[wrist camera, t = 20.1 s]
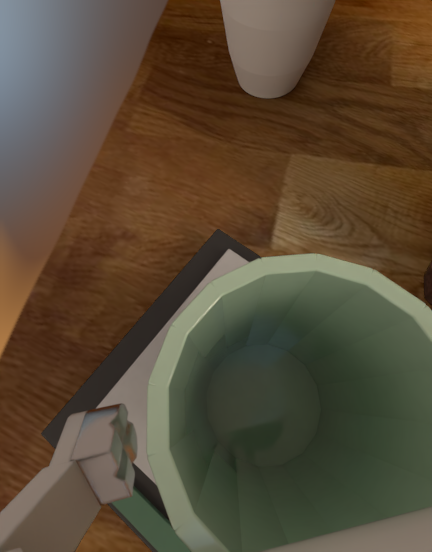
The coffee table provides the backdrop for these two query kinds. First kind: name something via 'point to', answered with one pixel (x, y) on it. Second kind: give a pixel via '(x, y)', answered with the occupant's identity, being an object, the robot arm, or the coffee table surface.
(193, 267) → the scale
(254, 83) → the cup
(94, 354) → the coffee table surface
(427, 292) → the book
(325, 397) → the tumbler
